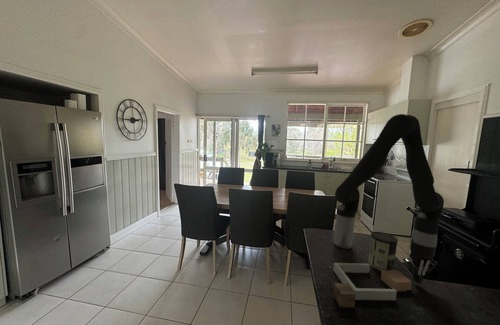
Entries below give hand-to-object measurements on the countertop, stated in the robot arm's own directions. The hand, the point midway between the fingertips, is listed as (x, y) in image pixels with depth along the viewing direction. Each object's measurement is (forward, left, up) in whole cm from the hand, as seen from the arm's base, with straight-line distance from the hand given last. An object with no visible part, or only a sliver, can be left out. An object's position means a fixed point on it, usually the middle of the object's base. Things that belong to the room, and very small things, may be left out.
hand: (417, 282), depth 82 cm
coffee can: (-13, -6, -1) cm, 14 cm away
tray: (0, -23, -1) cm, 23 cm away
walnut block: (+9, -35, -1) cm, 36 cm away
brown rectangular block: (0, -9, -2) cm, 9 cm away
